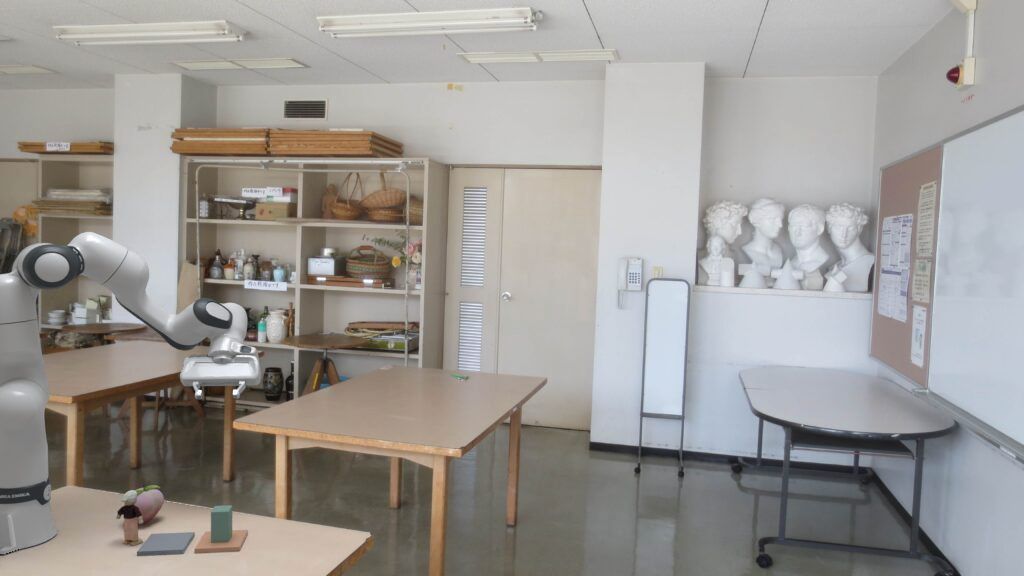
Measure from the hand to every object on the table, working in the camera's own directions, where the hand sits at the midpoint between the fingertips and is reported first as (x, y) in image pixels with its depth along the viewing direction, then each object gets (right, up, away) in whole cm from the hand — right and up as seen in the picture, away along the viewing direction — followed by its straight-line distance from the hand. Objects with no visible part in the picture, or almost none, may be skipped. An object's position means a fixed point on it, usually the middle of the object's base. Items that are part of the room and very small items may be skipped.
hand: (217, 397), depth 188 cm
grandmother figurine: (-14, -32, -17) cm, 39 cm away
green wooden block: (+8, -32, -16) cm, 36 cm away
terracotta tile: (+8, -33, -16) cm, 37 cm away
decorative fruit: (-17, -32, -5) cm, 36 cm away
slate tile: (-4, -33, -18) cm, 38 cm away
